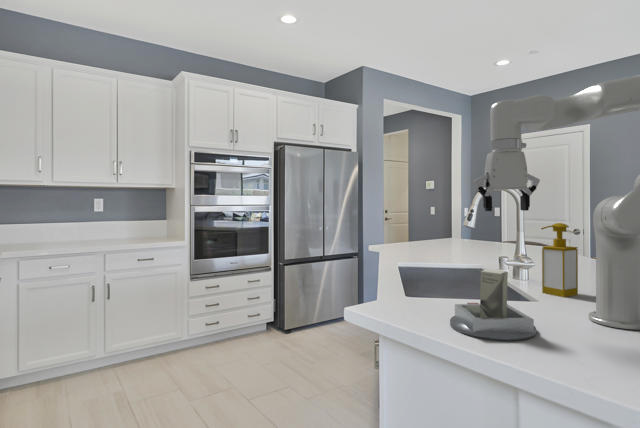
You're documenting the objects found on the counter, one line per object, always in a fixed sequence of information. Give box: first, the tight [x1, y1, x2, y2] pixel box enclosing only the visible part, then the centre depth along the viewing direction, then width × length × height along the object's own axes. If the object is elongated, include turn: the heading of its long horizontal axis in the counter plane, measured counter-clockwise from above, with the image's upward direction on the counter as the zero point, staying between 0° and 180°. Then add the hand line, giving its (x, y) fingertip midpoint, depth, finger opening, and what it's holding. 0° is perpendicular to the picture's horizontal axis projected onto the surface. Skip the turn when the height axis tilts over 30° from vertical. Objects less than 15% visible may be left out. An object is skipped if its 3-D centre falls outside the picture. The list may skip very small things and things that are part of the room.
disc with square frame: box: [449, 302, 537, 342], centre depth 94 cm, size 19×22×4 cm
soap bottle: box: [541, 222, 579, 298], centre depth 125 cm, size 7×13×24 cm, turn 115°
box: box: [479, 268, 509, 318], centre depth 92 cm, size 5×4×13 cm
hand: (506, 210), depth 103 cm, fingers open, 9 cm apart
